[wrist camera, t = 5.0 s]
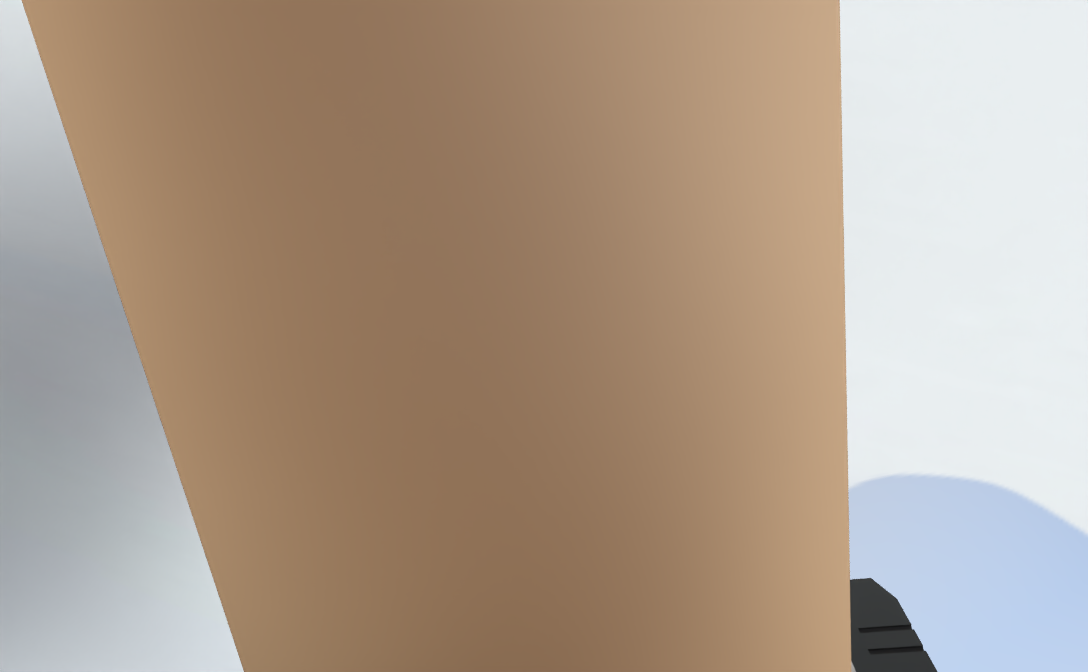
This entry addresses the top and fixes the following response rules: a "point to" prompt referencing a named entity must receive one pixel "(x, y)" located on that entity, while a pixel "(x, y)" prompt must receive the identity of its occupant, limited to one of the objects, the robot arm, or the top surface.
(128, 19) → the rail
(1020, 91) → the top surface
